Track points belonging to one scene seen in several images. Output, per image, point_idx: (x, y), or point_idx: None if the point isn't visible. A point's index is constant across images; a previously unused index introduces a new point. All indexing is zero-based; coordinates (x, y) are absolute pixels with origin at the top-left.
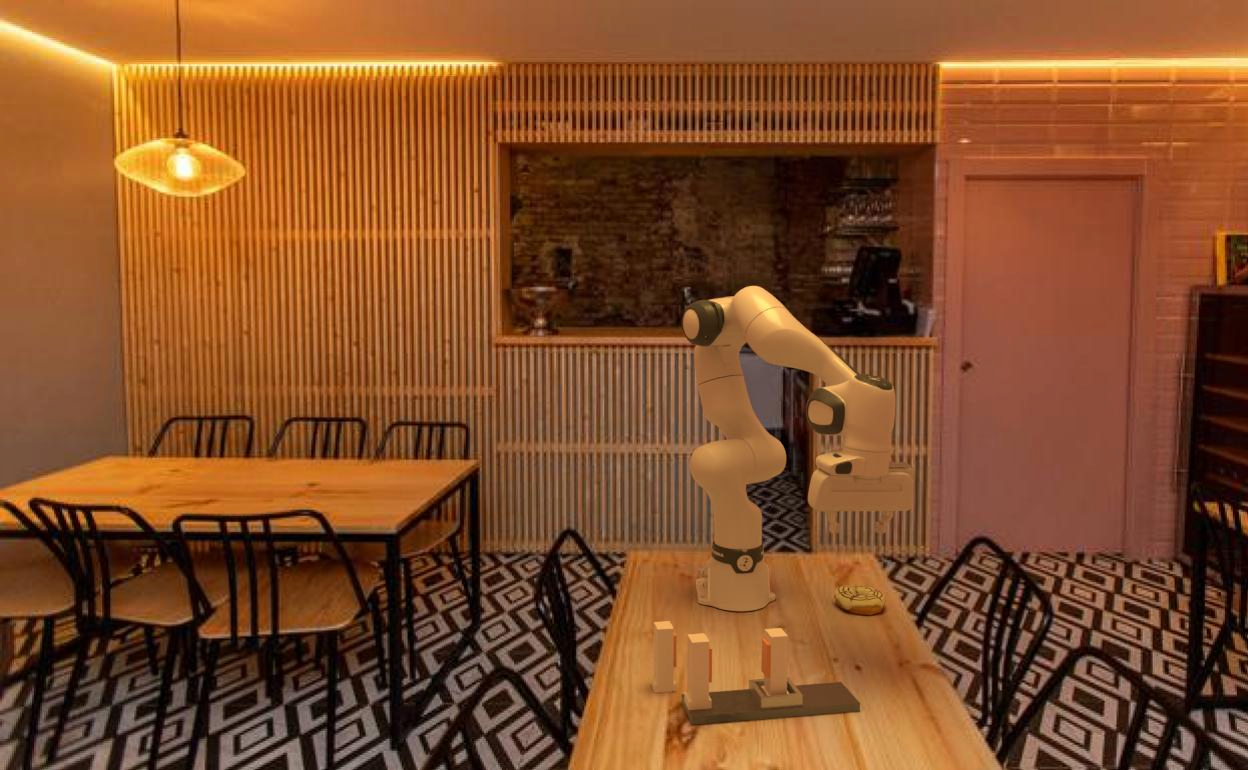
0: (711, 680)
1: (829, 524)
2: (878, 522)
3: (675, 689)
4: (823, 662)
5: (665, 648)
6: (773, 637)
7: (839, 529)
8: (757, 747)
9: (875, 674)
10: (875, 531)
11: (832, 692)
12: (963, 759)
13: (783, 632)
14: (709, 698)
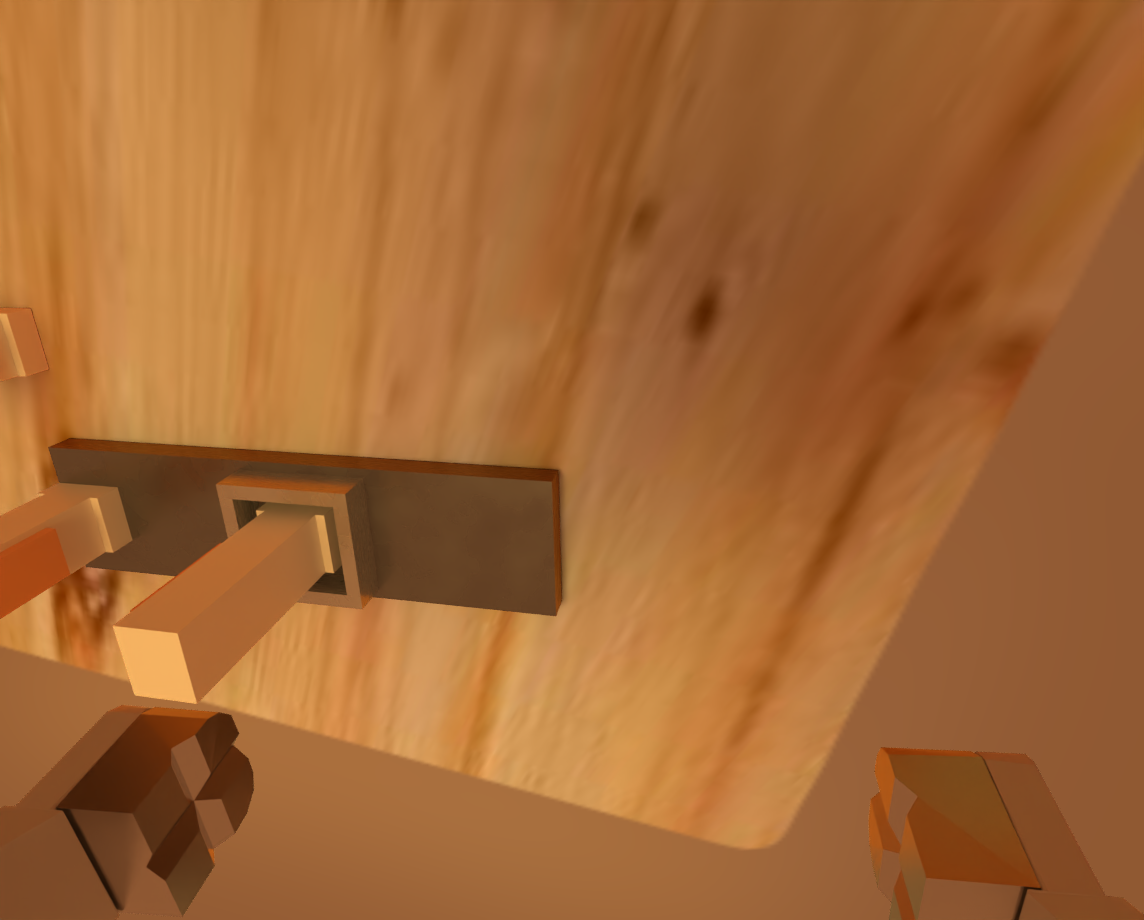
0: (63, 578)
1: (50, 772)
2: (975, 917)
3: (41, 371)
4: (580, 241)
5: None
6: (144, 694)
7: (212, 846)
8: (252, 676)
9: (744, 386)
10: (876, 763)
11: (494, 540)
12: (715, 842)
13: (183, 671)
14: (107, 543)
